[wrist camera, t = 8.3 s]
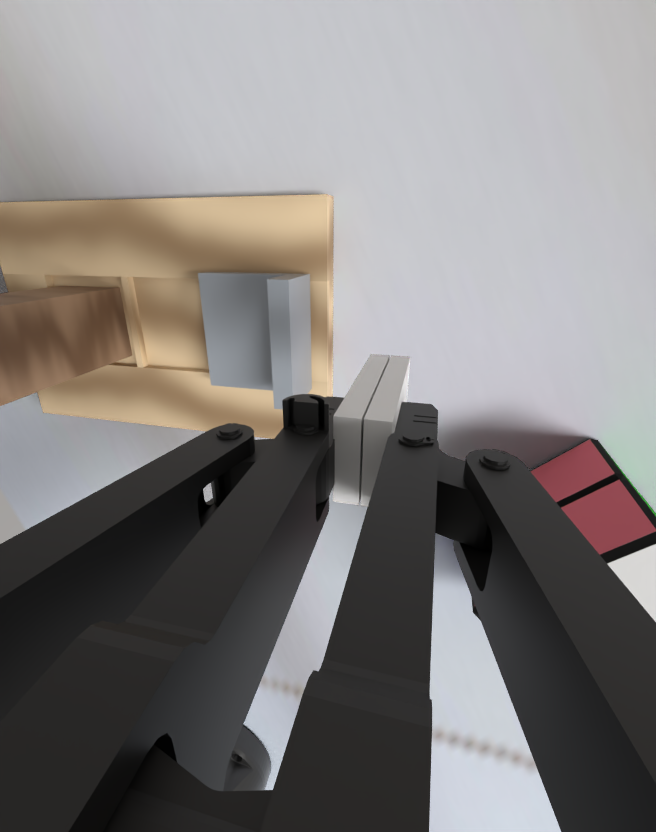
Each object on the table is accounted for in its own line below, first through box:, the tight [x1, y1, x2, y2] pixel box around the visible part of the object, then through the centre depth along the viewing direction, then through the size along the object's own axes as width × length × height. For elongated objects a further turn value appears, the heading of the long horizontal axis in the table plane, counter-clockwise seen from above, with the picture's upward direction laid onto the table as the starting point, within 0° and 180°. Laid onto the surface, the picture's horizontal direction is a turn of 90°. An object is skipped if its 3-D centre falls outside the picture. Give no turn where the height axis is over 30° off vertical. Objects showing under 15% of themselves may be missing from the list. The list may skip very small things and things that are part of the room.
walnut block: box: [0, 286, 132, 406], centre depth 27 cm, size 5×5×11 cm
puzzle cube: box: [472, 439, 656, 622], centre depth 25 cm, size 10×10×10 cm
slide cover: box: [198, 272, 312, 410], centre depth 26 cm, size 7×7×4 cm
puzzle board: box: [0, 194, 333, 439], centre depth 30 cm, size 16×25×2 cm, turn 90°
